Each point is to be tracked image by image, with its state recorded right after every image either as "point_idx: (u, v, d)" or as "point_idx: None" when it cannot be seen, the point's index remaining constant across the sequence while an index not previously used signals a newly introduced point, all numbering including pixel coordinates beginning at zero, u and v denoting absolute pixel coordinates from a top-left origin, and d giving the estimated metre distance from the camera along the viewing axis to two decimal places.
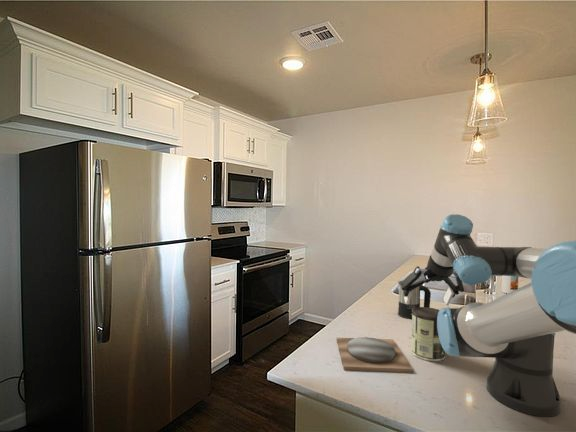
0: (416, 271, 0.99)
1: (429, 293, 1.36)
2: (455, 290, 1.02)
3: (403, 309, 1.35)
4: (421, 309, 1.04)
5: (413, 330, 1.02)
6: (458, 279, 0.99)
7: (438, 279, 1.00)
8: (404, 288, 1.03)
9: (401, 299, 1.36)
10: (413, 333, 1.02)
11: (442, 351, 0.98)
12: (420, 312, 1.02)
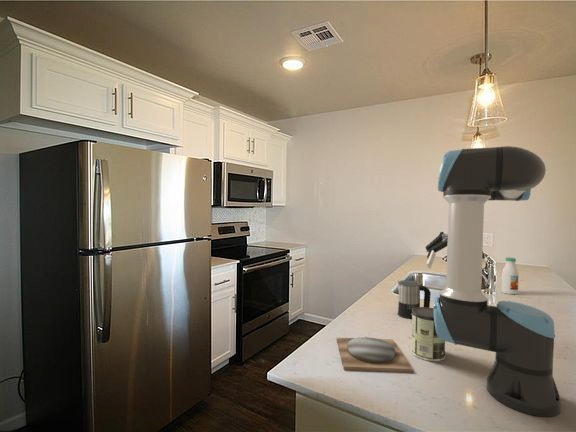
0: None
1: (429, 293, 1.36)
2: None
3: (403, 309, 1.35)
4: (421, 309, 1.04)
5: (413, 330, 1.02)
6: None
7: None
8: (427, 246, 1.23)
9: (401, 299, 1.36)
10: (413, 333, 1.02)
11: (442, 351, 0.98)
12: (420, 312, 1.02)
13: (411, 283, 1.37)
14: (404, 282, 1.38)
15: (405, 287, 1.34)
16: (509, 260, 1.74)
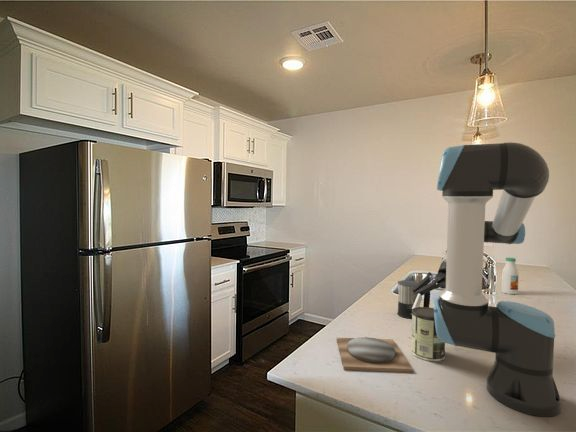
0: None
1: (429, 293, 1.36)
2: None
3: (402, 308, 1.36)
4: (421, 309, 1.04)
5: (413, 330, 1.02)
6: None
7: (445, 283, 1.10)
8: (414, 288, 1.16)
9: (401, 299, 1.36)
10: (413, 333, 1.02)
11: (442, 351, 0.98)
12: (420, 312, 1.02)
13: (411, 283, 1.37)
14: (404, 282, 1.38)
15: (404, 287, 1.35)
16: (509, 260, 1.74)
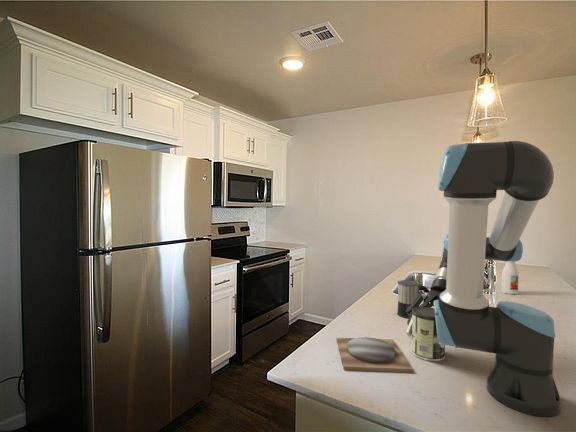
0: None
1: None
2: None
3: (402, 308, 1.36)
4: (421, 309, 1.04)
5: (413, 330, 1.02)
6: None
7: None
8: (408, 309, 1.09)
9: (401, 299, 1.36)
10: (413, 333, 1.02)
11: (442, 351, 0.98)
12: (420, 312, 1.02)
13: (410, 283, 1.37)
14: (403, 282, 1.39)
15: (404, 287, 1.35)
16: None
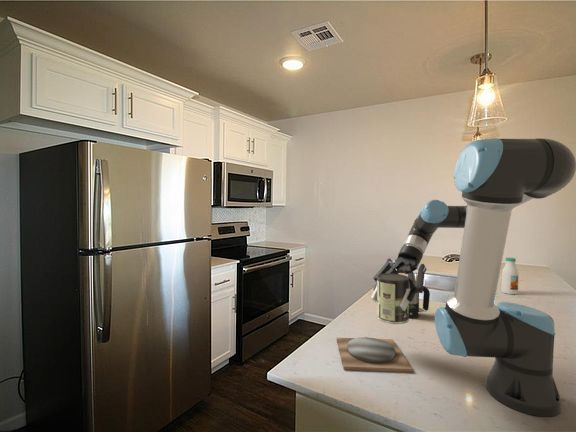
0: None
1: (428, 293, 1.36)
2: (412, 285, 1.00)
3: None
4: (387, 275, 1.06)
5: (377, 295, 1.03)
6: (419, 271, 1.02)
7: (403, 267, 1.06)
8: (375, 276, 1.10)
9: None
10: (377, 298, 1.03)
11: (404, 314, 0.99)
12: (384, 277, 1.03)
13: None
14: None
15: None
16: (509, 260, 1.74)
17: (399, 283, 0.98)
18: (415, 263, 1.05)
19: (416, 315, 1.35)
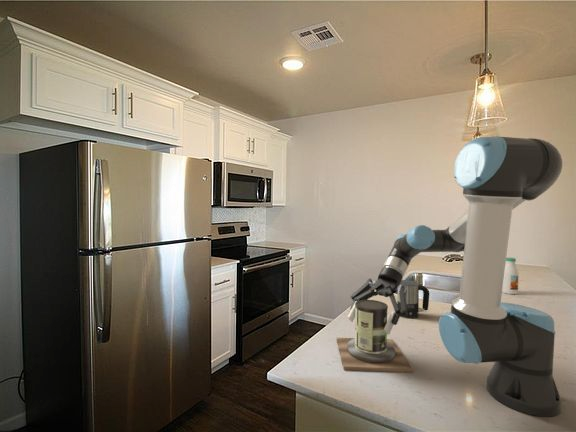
0: None
1: (428, 293, 1.37)
2: (396, 308, 0.97)
3: None
4: (365, 302, 1.03)
5: (355, 323, 1.01)
6: (400, 293, 1.00)
7: (383, 290, 1.04)
8: (352, 295, 1.09)
9: None
10: (355, 326, 1.01)
11: (382, 344, 0.97)
12: (363, 304, 1.01)
13: (410, 283, 1.37)
14: (403, 282, 1.39)
15: None
16: (509, 260, 1.74)
17: (377, 312, 0.96)
18: (395, 286, 1.03)
19: (416, 315, 1.35)
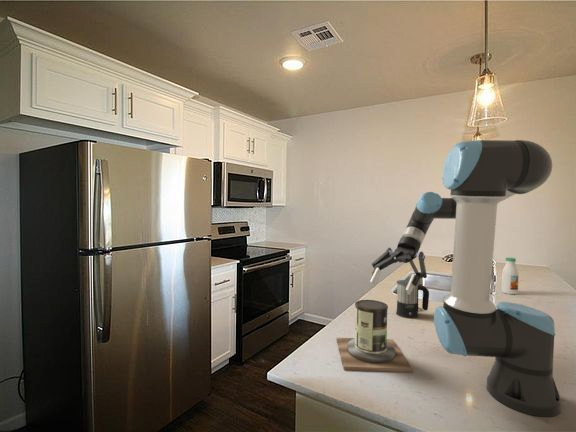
0: None
1: (427, 293, 1.37)
2: (416, 271, 1.05)
3: (401, 308, 1.36)
4: (365, 302, 1.04)
5: (355, 322, 1.01)
6: (419, 258, 1.08)
7: (402, 257, 1.13)
8: (373, 262, 1.18)
9: (400, 298, 1.37)
10: (355, 326, 1.01)
11: (382, 344, 0.97)
12: (363, 304, 1.01)
13: None
14: (403, 282, 1.39)
15: (403, 287, 1.35)
16: (509, 260, 1.74)
17: (377, 312, 0.96)
18: (414, 252, 1.11)
19: (415, 315, 1.35)
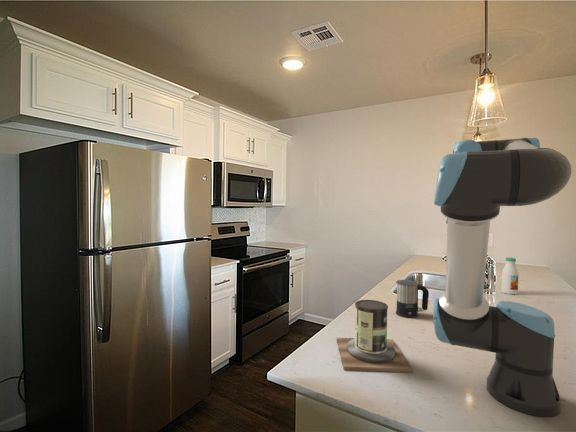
0: None
1: (427, 292, 1.37)
2: None
3: (401, 308, 1.37)
4: (366, 302, 1.03)
5: (355, 323, 1.01)
6: None
7: None
8: (447, 221, 1.19)
9: (399, 298, 1.37)
10: (355, 326, 1.01)
11: (382, 344, 0.97)
12: (363, 304, 1.01)
13: (409, 282, 1.38)
14: (402, 281, 1.39)
15: (403, 287, 1.36)
16: (509, 260, 1.74)
17: (377, 312, 0.96)
18: None
19: (415, 315, 1.36)
